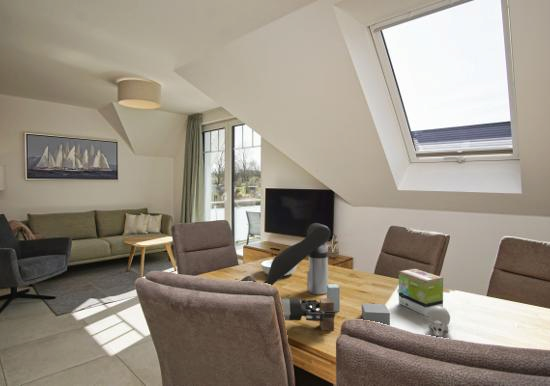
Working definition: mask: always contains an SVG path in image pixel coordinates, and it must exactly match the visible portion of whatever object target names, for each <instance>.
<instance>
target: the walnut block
mask: <svg viewBox="0 0 550 386" xmlns="http://www.w3.org/2000/svg"><path fill="white" fill-rule="evenodd" d="M319 303H320V309H319V310H321V311H334V302H333V300H332V298H327V297H326V298H319ZM334 312H335V311H334ZM319 327H320V329H321V331H335V317H334V318H324V319H323V321H319Z"/></svg>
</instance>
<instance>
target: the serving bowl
mask: <svg viewBox="0 0 550 386" xmlns="http://www.w3.org/2000/svg"><path fill="white" fill-rule="evenodd" d="M273 259H274V258H273ZM273 259H267V260H264V261H262V262H261V264H260V266H261V270H262V271H263V272H264V273H265V274H266V275H268V273H269V270H270V267H271V264H272V261H273ZM297 267H298V264H297V265H296V266H295V267H294V268H293V269H291V270H290V271H289V272H288V273H287V274H285V275H284V276H283V277H285V276H289V275H291V274H293V273H294V272H296V269H297Z"/></svg>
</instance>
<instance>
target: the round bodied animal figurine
mask: <svg viewBox="0 0 550 386" xmlns="http://www.w3.org/2000/svg"><path fill="white" fill-rule="evenodd" d="M427 319H428V321H429V322H430V323H429V325H430V329H432V330H433V335H434V336H435V337H436V336H438V337H440V338H442V337H443V336H444V335H443V333H447V332H448V331H449V329H450V328H449V325H450V321H451V315H450V313H449V311H448V310H447V309H446V308H445V307H444V306H443V307H441V306H433V307H431V308H430V309H429V311H428V316H427ZM438 337H437V338H438Z"/></svg>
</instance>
